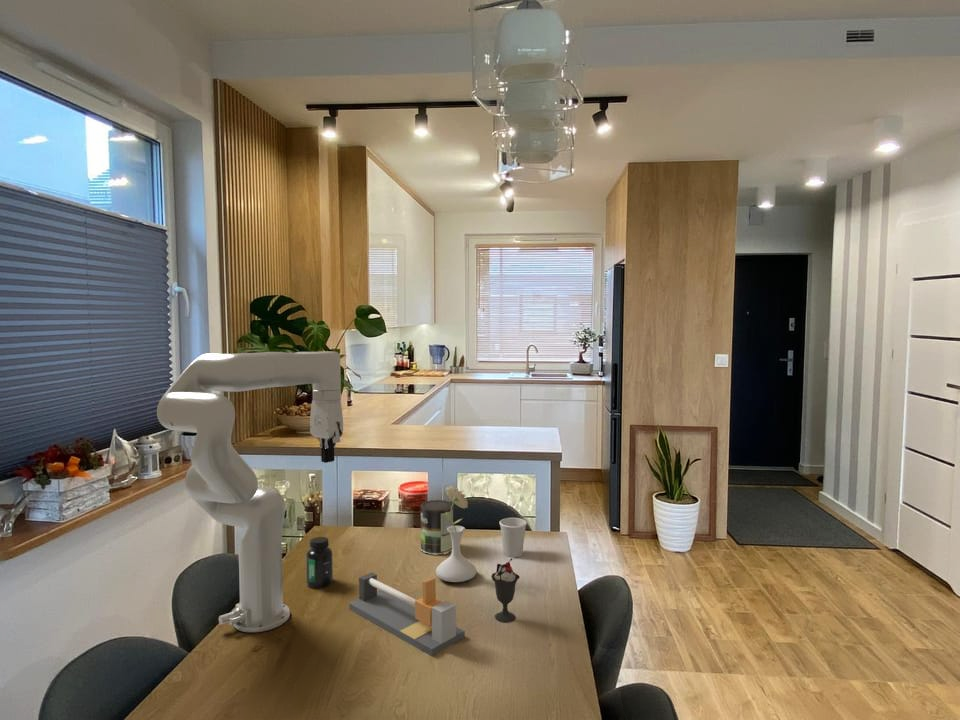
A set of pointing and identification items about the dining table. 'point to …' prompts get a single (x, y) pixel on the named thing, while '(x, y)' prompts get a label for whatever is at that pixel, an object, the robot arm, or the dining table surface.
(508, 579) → the sundae
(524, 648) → the dining table surface
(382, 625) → the grey slider rail toy
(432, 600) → the orange l-shaped block
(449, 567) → the flower in vase
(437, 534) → the coffee can
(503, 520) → the dixie cup
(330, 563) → the supplement bottle
